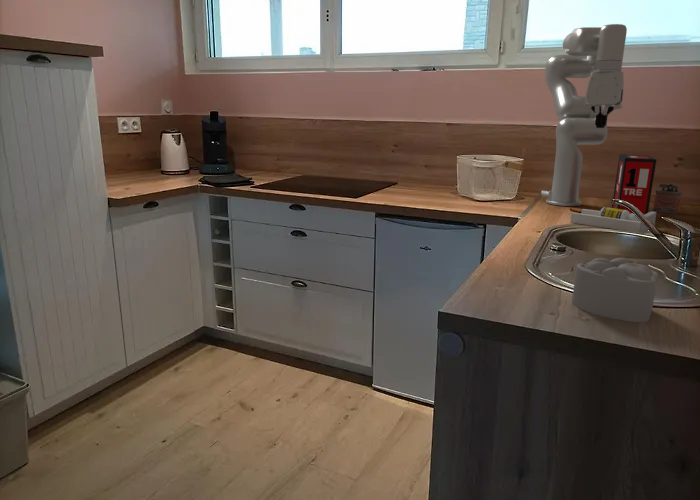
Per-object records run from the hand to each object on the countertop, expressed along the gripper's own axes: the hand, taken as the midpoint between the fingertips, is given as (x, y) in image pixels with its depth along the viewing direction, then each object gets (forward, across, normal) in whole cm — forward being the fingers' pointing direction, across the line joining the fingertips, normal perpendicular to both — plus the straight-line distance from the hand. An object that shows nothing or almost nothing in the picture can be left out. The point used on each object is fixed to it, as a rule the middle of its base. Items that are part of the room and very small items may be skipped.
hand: (600, 127), depth 173 cm
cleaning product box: (+29, +9, +12) cm, 33 cm away
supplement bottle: (+26, +6, -8) cm, 28 cm away
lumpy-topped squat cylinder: (+29, +33, -85) cm, 96 cm away
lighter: (+29, +16, +31) cm, 46 cm away
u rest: (+29, +9, -8) cm, 31 cm away
